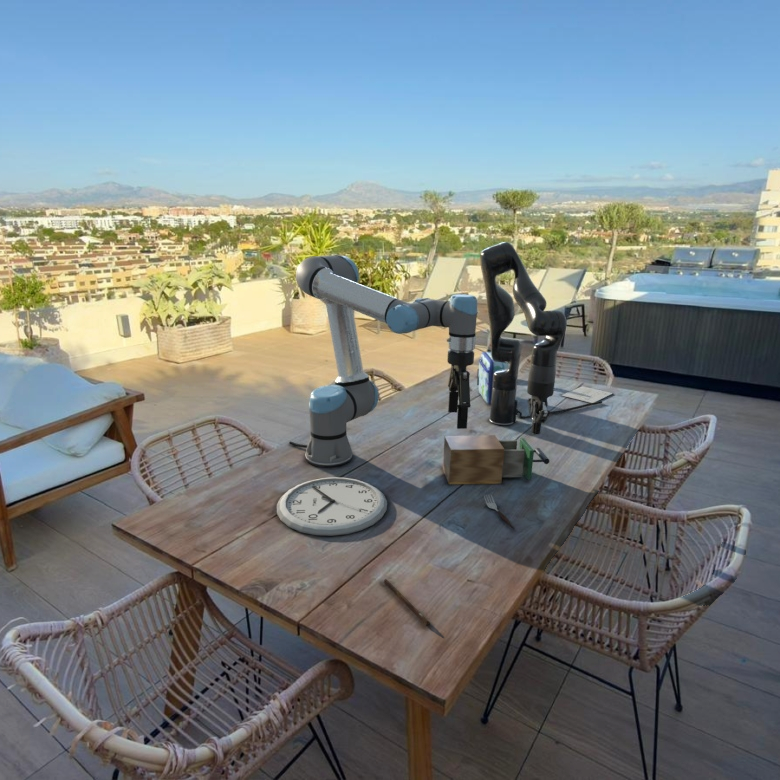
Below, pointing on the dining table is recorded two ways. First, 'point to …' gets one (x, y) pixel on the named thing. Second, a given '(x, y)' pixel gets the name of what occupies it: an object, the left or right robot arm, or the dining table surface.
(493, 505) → the fork
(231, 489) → the dining table surface
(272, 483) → the dining table surface
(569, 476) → the dining table surface
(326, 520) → the wall clock
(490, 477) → the open wooden box
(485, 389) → the lunch box
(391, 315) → the left robot arm
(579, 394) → the invitation card
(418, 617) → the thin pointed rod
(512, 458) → the drawer
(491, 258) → the right robot arm
